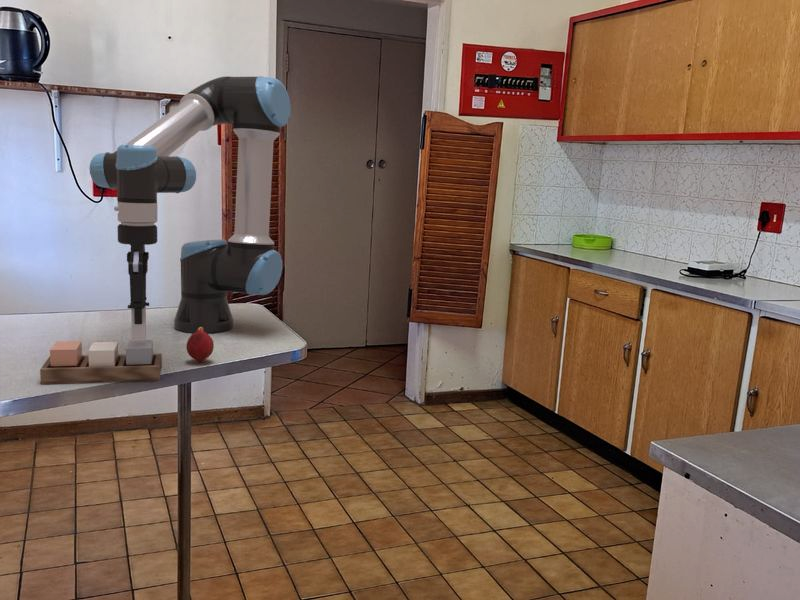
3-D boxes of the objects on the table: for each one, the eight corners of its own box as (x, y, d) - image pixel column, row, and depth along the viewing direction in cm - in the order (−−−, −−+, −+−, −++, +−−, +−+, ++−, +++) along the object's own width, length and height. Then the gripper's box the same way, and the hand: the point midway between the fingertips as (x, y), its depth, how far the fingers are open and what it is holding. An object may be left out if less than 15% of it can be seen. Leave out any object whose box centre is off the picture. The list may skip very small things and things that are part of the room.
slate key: (153, 355, 157) (153, 340, 156) (151, 364, 150) (150, 348, 150) (129, 355, 155) (128, 340, 155) (126, 364, 149) (125, 348, 148)
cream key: (118, 357, 155) (117, 341, 154) (114, 366, 148) (114, 350, 148) (93, 357, 154) (93, 342, 153) (88, 366, 147) (88, 350, 147)
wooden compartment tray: (161, 367, 159) (161, 353, 159) (159, 380, 150) (159, 366, 149) (50, 369, 153) (50, 355, 153) (40, 384, 144) (40, 369, 143)
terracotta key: (82, 356, 153) (81, 340, 152) (76, 365, 147) (76, 349, 146) (56, 356, 152) (56, 341, 151) (50, 366, 145) (49, 350, 145)
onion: (206, 367, 161) (206, 331, 159) (181, 364, 162) (181, 329, 160) (217, 360, 166) (217, 325, 165) (193, 357, 167) (193, 323, 166)
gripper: (120, 220, 153) (122, 331, 157) (113, 226, 140) (116, 346, 145) (159, 221, 155) (159, 331, 159) (155, 227, 142) (156, 346, 147)
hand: (139, 338), depth 152 cm, fingers closed
